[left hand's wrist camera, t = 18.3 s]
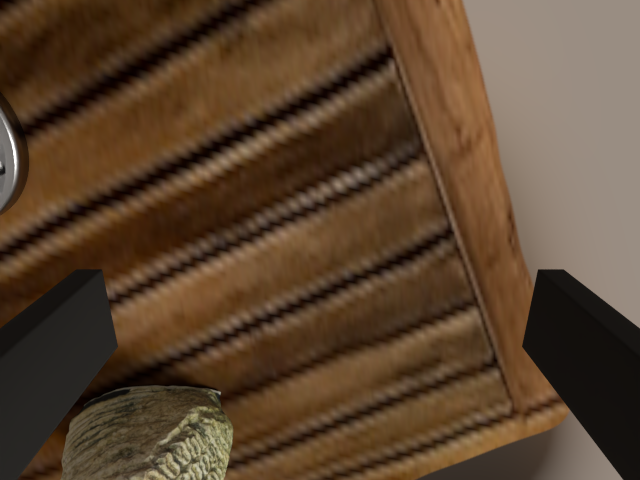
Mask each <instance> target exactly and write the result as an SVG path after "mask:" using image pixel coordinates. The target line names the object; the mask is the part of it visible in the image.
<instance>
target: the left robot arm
mask: <svg viewBox="0 0 640 480" xmlns="http://www.w3.org/2000/svg"><path fill="white" fill-rule="evenodd" d="M28 169H29V155H28V147H27V142H26V138H25V135H24V132H23V129H22V127H21V124H20V122H19V120H18V118H17V116H16V114H15V112H14V111H13V109H12V107H11V106H10V104H9V103H8V101H7V100H6V98H5V97H4V96H3V95H2V93H1V92H0V215H2V214H3V213H4V212H6V211H7V210H8V209H9V208H11V207H12V206H13V205H14V203H15V202H16V201H17V200H18V198H19V197H20V195H21V193H22V191H23V189H24V187H25V184H26V181H27V176H28ZM117 347H118V345H117V340H116V335H115V330H114V326H113V321H112V316H111V311H110V306H109V301H108V297H107V292H106V287H105V282H104V277H103V272H102V270H75V271H74V272H73V273H71V274H70V275H69V276H67V277H66V278H65V279H64V280H62V281H61V282H60V283H58V284H57V285H56V286H54V287H53V288H52V289H51V290H49V291H48V292H47V293H45V294H44V295H43V296H42V297H40V298H39V299H38V300H36V301H35V302H34V303H33V304H31V305H30V306H29V307H27V308H26V309H25V310H24V311H22V312H21V313H20V314H18V315H17V316H16V317H14V318H13V319H12V320H11V321H9V322H8V323H7V324H5V325H4V326H3V327H2V328H0V480H17V479H18V477H19V476H20V475H21V473H22V472H23V471H24V469H25V468H26V467H27V465H28V464H29V463H30V461H31V460H32V459H33V458H34V456H35V455H36V454H37V452H38V451H39V450H40V448H41V447H42V446H43V444H44V443H45V442H46V440H47V439H48V438H49V437H50V435H51V434H52V433H53V431H54V430H55V429H56V427H57V426H58V425H59V423H60V422H61V421H62V419H63V418H64V417H65V415H66V414H67V413H68V412H69V410H70V409H71V408H72V406H73V405H74V404H75V402H76V401H77V400H78V398H79V397H80V396H81V394H82V393H83V392H84V390H85V389H86V388H87V387H88V385H89V384H90V383H91V381H92V380H93V379H94V377H95V376H96V375H97V373H98V372H99V371H100V369H101V368H102V367H103V366H104V364H105V363H106V362H107V360H108V359H109V358H110V356H111V355H112V354H113V352H114V351H115V350H116V348H117ZM522 347H523V348H524V350H525V351H526V352H527V354H528V355H529V356H530V358H531V359H532V360H533V362H534V363H535V364H536V366H537V367H538V368H539V369H540V371H541V372H542V373H543V375H544V376H545V377H546V379H547V380H548V381H549V383H550V384H551V385H552V387H553V388H554V389H555V390H556V392H557V393H558V394H559V396H560V397H561V398H562V400H563V401H564V402H565V404H566V405H567V406H568V408H569V409H570V410H571V412H572V413H573V414H574V415H575V417H576V418H577V419H578V421H579V422H580V423H581V425H582V426H583V427H584V429H585V430H586V431H587V433H588V434H589V435H590V437H591V438H592V439H593V440H594V442H595V443H596V444H597V446H598V447H599V448H600V450H601V451H602V452H603V454H604V455H605V456H606V457H607V459H608V460H609V461H610V463H611V464H612V465H613V467H614V468H615V469H616V471H617V472H618V473H619V475H620V476H621V477H622V479H623V480H640V328H638V327H637V326H636V325H635V324H633V323H632V322H631V321H629V320H628V319H627V318H625V317H624V316H623V315H622V314H620V313H619V312H618V311H616V310H615V309H614V308H613V307H611V306H610V305H609V304H607V303H606V302H605V301H603V300H602V299H601V298H600V297H598V296H597V295H596V294H595V293H593V292H592V291H591V290H589V289H588V288H587V287H586V286H584V285H583V284H582V283H580V282H579V281H578V280H576V279H575V278H574V277H573V276H571V275H570V274H569V273H567V272H566V271H565V270H538V272H537V277H536V282H535V287H534V292H533V297H532V301H531V306H530V311H529V316H528V321H527V326H526V330H525V335H524V340H523V345H522Z"/></svg>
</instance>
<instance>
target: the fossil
mask: <svg viewBox="0 0 640 480" xmlns="http://www.w3.org/2000/svg"><path fill="white" fill-rule="evenodd" d="M220 393H221V392H219V391H215V390H212V389H208V388H195V387H188V386H168V387H167V386H158V385H153V386H136V387H127V388H121V389H117V390H114V391H112V392H109V393H106V394H104V395H102V396H101V397H98V398H94V399H92V400H91V401H89V402H88V403H86V404H85V405H84V407H83V409H82V410H81V411H80V413H79V414H78V415H76V416H75V417H74V418H73V419H71V422H70V425H69V433H68V434H67V435H66V443H65V448H64V452H63V458H62V466H63V473H62V478H61V480H223V479H224V477H225V472H226V470H227V469H226V467H227V465H228V461H229V456H230V450H231V446H232V439H233V426H232V423H231V421H230V419H229V418H228V417H227V416H226V415H225V414H224V412H223V411H222V409H221V407H220V406H221V403H220Z"/></svg>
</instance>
